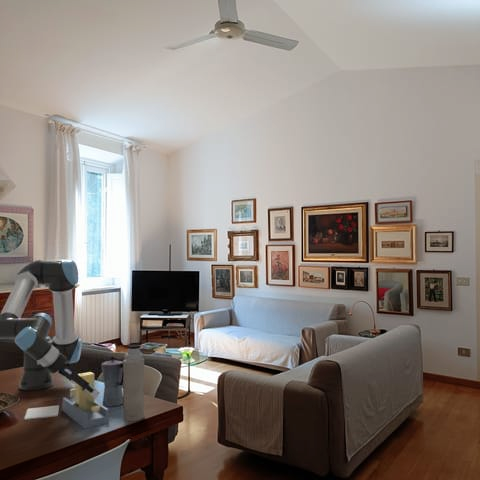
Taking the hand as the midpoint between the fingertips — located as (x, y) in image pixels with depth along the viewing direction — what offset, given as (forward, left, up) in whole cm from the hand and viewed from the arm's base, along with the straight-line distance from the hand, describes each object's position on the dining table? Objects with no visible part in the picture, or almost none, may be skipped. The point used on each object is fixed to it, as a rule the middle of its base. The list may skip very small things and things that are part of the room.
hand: (91, 391), depth 173 cm
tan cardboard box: (+1, -2, -6) cm, 7 cm away
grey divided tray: (+1, -2, -9) cm, 9 cm away
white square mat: (-9, -18, -9) cm, 22 cm away
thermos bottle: (+9, +16, -9) cm, 20 cm away
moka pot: (-10, +10, -9) cm, 17 cm away
